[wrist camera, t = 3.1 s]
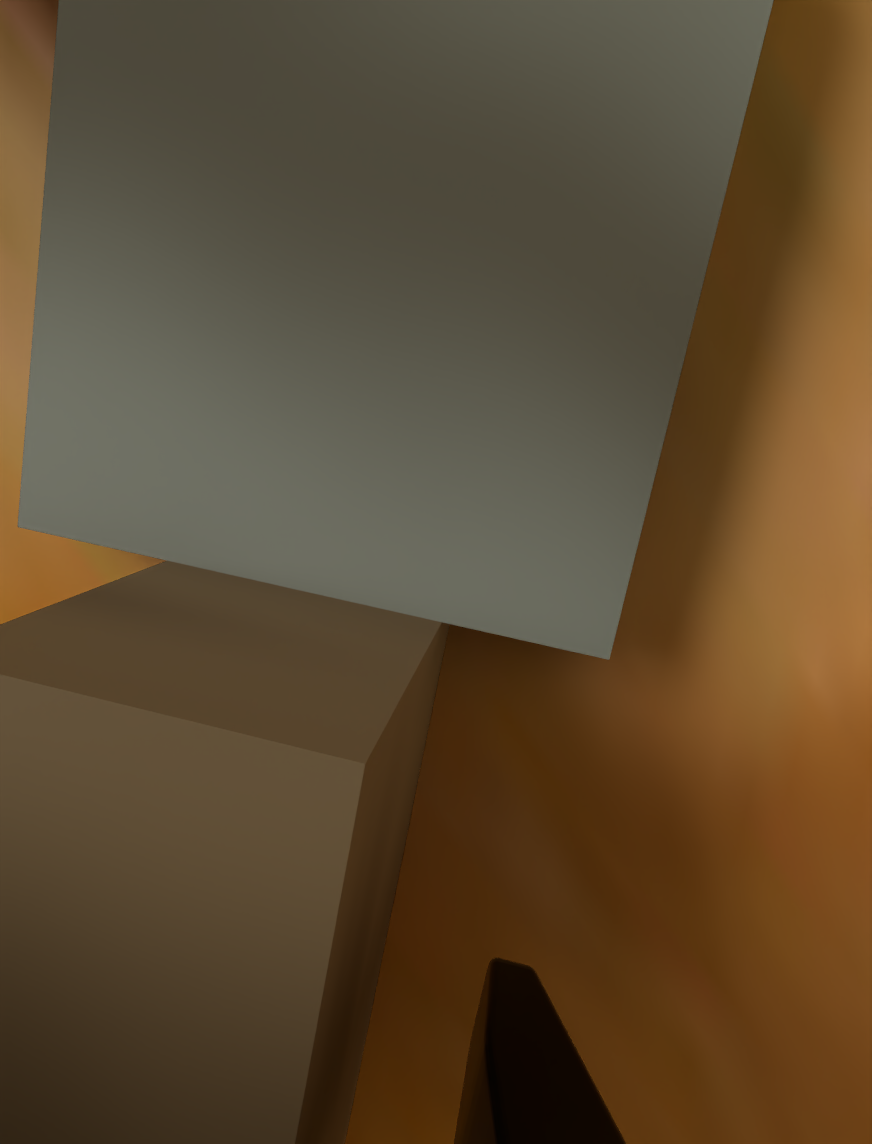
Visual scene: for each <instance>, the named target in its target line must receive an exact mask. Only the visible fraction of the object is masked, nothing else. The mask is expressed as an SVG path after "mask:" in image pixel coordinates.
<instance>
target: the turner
mask: <svg viewBox="0 0 872 1144" xmlns="http://www.w3.org/2000/svg"><path fill="white" fill-rule="evenodd" d="M773 1H774V0H59V6H58V18H57V31H56V44H55V57H54V69H53V82H52V95H51V108H50V120H49V133H48V146H47V159H46V171H45V184H44V197H43V210H42V223H41V235H40V248H39V261H38V274H37V286H36V299H35V312H34V325H33V337H32V350H31V363H30V376H29V389H28V401H27V414H26V427H25V440H24V452H23V465H22V478H21V491H20V503H19V516H18V527H20V528H25V529H29V530H34V531H38V532H42V533H47V534H51V535H56V536H60V537H65V538H69V539H74V540H78V541H82V542H87V543H91V544H96V545H100V546H105V547H109V548H114V549H118V550H123V551H127V552H131V553H136V554H140V555H145V556H149V557H154V558H158V559H163V560H167V561H165V562H162V563H160V564H157V565H155V566H152V567H149V568H147V569H144V570H142V571H139V572H136V573H134V574H131V575H129V576H126V577H123V578H121V579H118V580H115V581H113V582H110V583H108V584H105V585H102V586H100V587H97V588H95V589H92V590H89V591H87V592H84V593H82V594H79V595H76V596H74V597H71V598H69V599H66V600H63V601H61V602H58V603H56V604H53V605H50V606H48V607H45V608H43V609H40V610H37V611H35V612H32V613H29V614H27V615H24V616H22V617H19V618H16V619H14V620H11V621H9V622H6V623H3V624H1V625H0V1144H345V1140H346V1135H347V1130H348V1125H349V1120H350V1115H351V1110H352V1105H353V1100H354V1095H355V1090H356V1085H357V1080H358V1075H359V1071H360V1066H361V1061H362V1056H363V1051H364V1046H365V1041H366V1036H367V1031H368V1026H369V1021H370V1016H371V1011H372V1006H373V1001H374V996H375V991H376V986H377V981H378V976H379V971H380V966H381V961H382V957H383V952H384V947H385V942H386V937H387V932H388V927H389V922H390V917H391V912H392V907H393V902H394V897H395V892H396V887H397V882H398V877H399V872H400V867H401V862H402V857H403V852H404V847H405V843H406V838H407V833H408V828H409V823H410V818H411V813H412V808H413V803H414V798H415V793H416V788H417V783H418V778H419V773H420V768H421V763H422V758H423V753H424V748H425V743H426V738H427V734H428V729H429V724H430V719H431V714H432V709H433V704H434V699H435V694H436V689H437V684H438V679H439V674H440V669H441V664H442V659H443V654H444V649H445V644H446V639H447V634H448V629H449V624H452V625H456V626H461V627H465V628H470V629H474V630H479V631H483V632H487V633H492V634H496V635H501V636H505V637H510V638H514V639H519V640H523V641H528V642H532V643H536V644H541V645H545V646H550V647H554V648H559V649H563V650H568V651H572V652H576V653H581V654H585V655H590V656H594V657H599V658H603V659H608V660H609V659H610V655H611V651H612V647H613V643H614V639H615V635H616V631H617V627H618V623H619V619H620V615H621V611H622V607H623V603H624V599H625V595H626V591H627V587H628V583H629V579H630V575H631V571H632V567H633V563H634V559H635V555H636V551H637V547H638V543H639V539H640V535H641V531H642V527H643V523H644V519H645V514H646V510H647V506H648V502H649V498H650V494H651V490H652V486H653V482H654V478H655V474H656V470H657V466H658V462H659V458H660V454H661V450H662V446H663V442H664V438H665V434H666V430H667V426H668V422H669V418H670V414H671V410H672V406H673V402H674V398H675V394H676V390H677V386H678V382H679V378H680V374H681V370H682V366H683V362H684V358H685V354H686V350H687V346H688V342H689V338H690V334H691V330H692V326H693V322H694V318H695V314H696V310H697V306H698V302H699V298H700V294H701V290H702V286H703V282H704V278H705V274H706V270H707V266H708V262H709V258H710V254H711V250H712V246H713V242H714V238H715V234H716V230H717V225H718V221H719V217H720V213H721V209H722V205H723V201H724V197H725V193H726V189H727V185H728V181H729V177H730V173H731V169H732V165H733V161H734V157H735V153H736V149H737V145H738V141H739V137H740V133H741V129H742V125H743V121H744V117H745V113H746V109H747V105H748V101H749V97H750V93H751V89H752V85H753V81H754V77H755V73H756V69H757V65H758V61H759V57H760V53H761V49H762V45H763V41H764V37H765V33H766V29H767V25H768V21H769V17H770V13H771V9H772V5H773Z"/></svg>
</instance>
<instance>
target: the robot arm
mask: <svg viewBox="0 0 872 1144" xmlns="http://www.w3.org/2000/svg"><path fill="white" fill-rule="evenodd" d="M454 1144H626V1143H625V1141H624V1139H623V1137H622V1135H621V1133H620V1131H619V1129H618V1127H617V1125H616V1124H615V1122H614V1120H613V1118H612V1116H611V1114H610V1112H609V1110H608V1108H607V1106H606V1105H605V1103H604V1101H603V1099H602V1097H601V1095H600V1093H599V1091H598V1089H597V1087H596V1086H595V1084H594V1082H593V1080H592V1078H591V1076H590V1074H589V1072H588V1070H587V1069H586V1067H585V1065H584V1063H583V1061H582V1059H581V1057H580V1055H579V1053H578V1051H577V1050H576V1048H575V1046H574V1044H573V1042H572V1040H571V1038H570V1036H569V1034H568V1032H567V1031H566V1029H565V1027H564V1025H563V1023H562V1021H561V1019H560V1017H559V1015H558V1013H557V1012H556V1010H555V1008H554V1006H553V1004H552V1002H551V1000H550V998H549V996H548V994H547V993H546V991H545V989H544V987H543V985H542V983H541V981H540V979H539V977H538V975H537V974H536V972H535V970H534V969H533V968H531V967H530V966H527V965H524V964H520V963H516V962H512V961H508V960H505V959H501V958H494V959H492V960H491V961H490V963H489V966H488V969H487V973H486V977H485V981H484V986H483V990H482V994H481V998H480V1003H479V1007H478V1011H477V1015H476V1019H475V1024H474V1028H473V1032H472V1037H471V1042H470V1048H469V1053H468V1059H467V1065H466V1072H465V1078H464V1084H463V1090H462V1096H461V1102H460V1109H459V1115H458V1121H457V1127H456V1133H455V1139H454Z"/></svg>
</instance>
